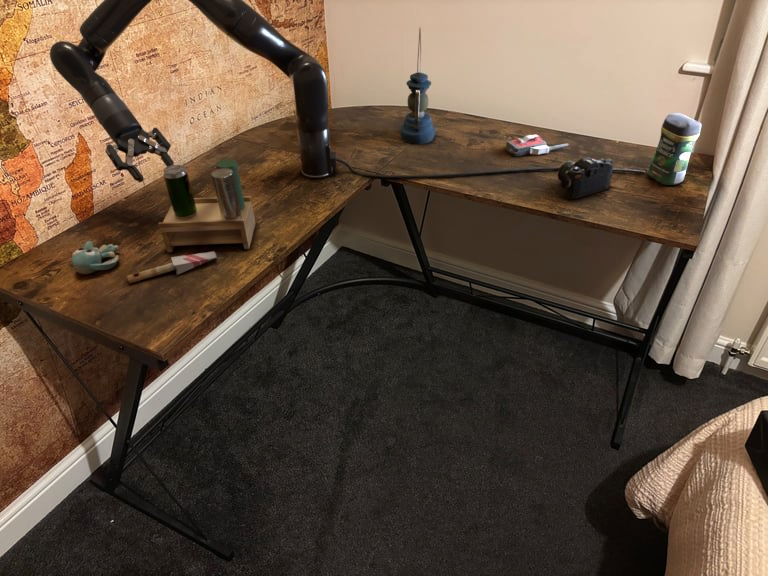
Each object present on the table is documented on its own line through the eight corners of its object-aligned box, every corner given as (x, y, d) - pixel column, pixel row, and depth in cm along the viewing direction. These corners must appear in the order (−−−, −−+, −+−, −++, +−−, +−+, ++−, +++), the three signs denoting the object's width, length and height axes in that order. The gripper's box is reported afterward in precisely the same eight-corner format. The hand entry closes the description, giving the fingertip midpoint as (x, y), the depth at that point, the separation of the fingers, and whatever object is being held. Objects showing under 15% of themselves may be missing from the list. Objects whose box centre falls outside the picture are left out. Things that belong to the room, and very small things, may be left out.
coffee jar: (641, 174, 164) (660, 112, 153) (663, 169, 166) (683, 108, 155) (665, 188, 157) (686, 125, 145) (687, 183, 159) (709, 121, 147)
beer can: (178, 222, 133) (165, 176, 126) (172, 212, 137) (159, 168, 129) (200, 215, 135) (189, 170, 128) (193, 206, 139) (181, 162, 132)
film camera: (574, 171, 166) (581, 140, 160) (613, 185, 159) (621, 152, 153) (541, 192, 156) (547, 159, 150) (581, 207, 149) (589, 174, 143)
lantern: (402, 129, 194) (403, 21, 172) (436, 130, 193) (440, 21, 171) (397, 145, 183) (397, 32, 161) (433, 147, 182) (438, 33, 160)
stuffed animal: (130, 234, 132) (90, 253, 122) (135, 262, 135) (96, 282, 125) (95, 227, 135) (53, 244, 125) (100, 253, 138) (60, 272, 128)
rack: (255, 223, 145) (243, 156, 134) (249, 249, 136) (235, 179, 124) (179, 226, 145) (159, 159, 133) (167, 252, 135) (145, 182, 124)
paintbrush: (215, 253, 129) (126, 279, 123) (218, 262, 131) (131, 288, 125) (212, 245, 132) (125, 270, 126) (215, 254, 134) (129, 279, 128)
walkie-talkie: (515, 160, 173) (569, 149, 178) (517, 147, 170) (571, 136, 176) (501, 149, 179) (553, 139, 185) (502, 136, 177) (555, 127, 182)
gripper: (90, 118, 126) (134, 177, 127) (145, 100, 135) (185, 156, 136) (86, 135, 132) (128, 192, 133) (138, 117, 141) (177, 170, 142)
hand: (157, 174), depth 135 cm, fingers open, 8 cm apart
